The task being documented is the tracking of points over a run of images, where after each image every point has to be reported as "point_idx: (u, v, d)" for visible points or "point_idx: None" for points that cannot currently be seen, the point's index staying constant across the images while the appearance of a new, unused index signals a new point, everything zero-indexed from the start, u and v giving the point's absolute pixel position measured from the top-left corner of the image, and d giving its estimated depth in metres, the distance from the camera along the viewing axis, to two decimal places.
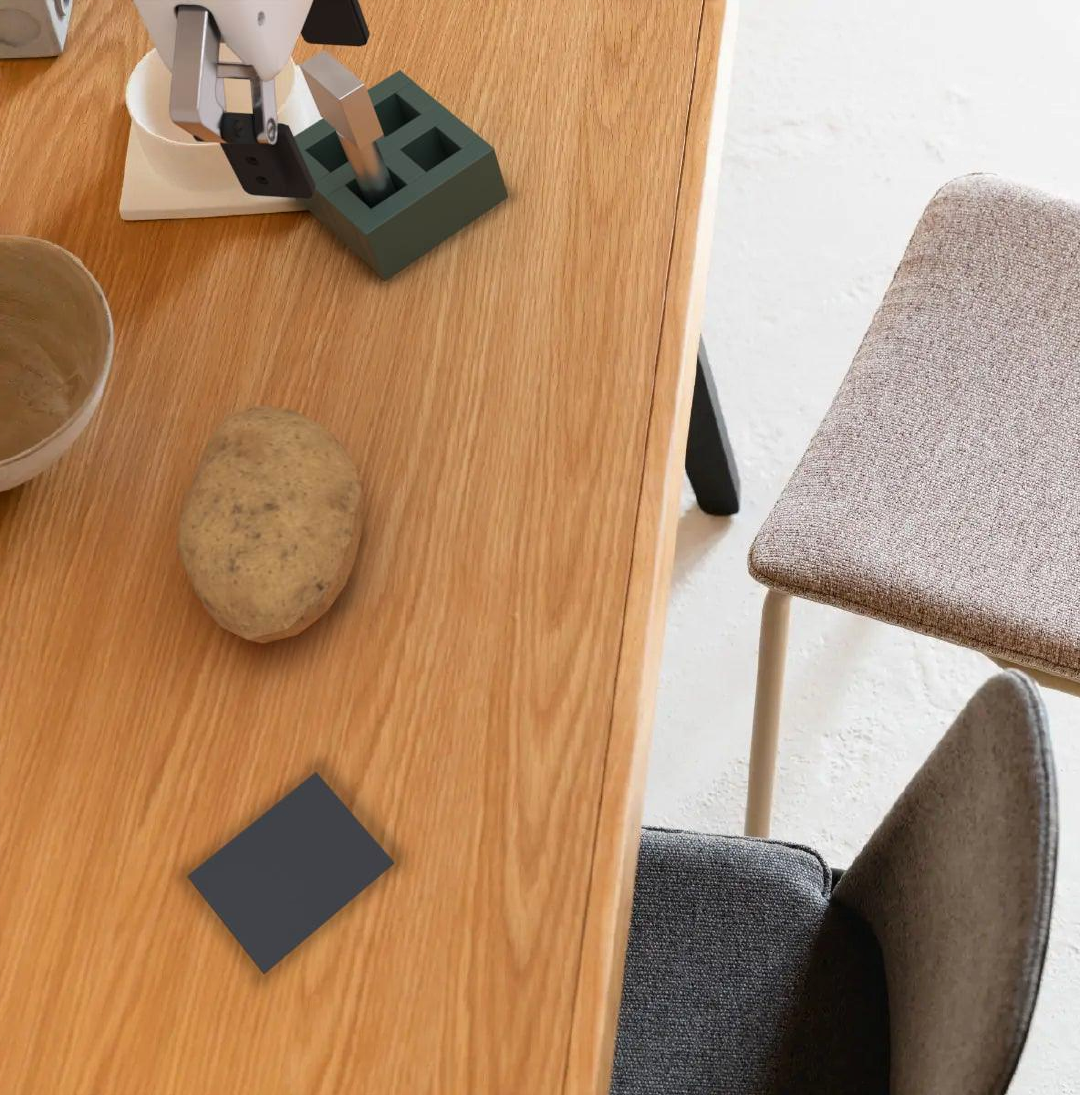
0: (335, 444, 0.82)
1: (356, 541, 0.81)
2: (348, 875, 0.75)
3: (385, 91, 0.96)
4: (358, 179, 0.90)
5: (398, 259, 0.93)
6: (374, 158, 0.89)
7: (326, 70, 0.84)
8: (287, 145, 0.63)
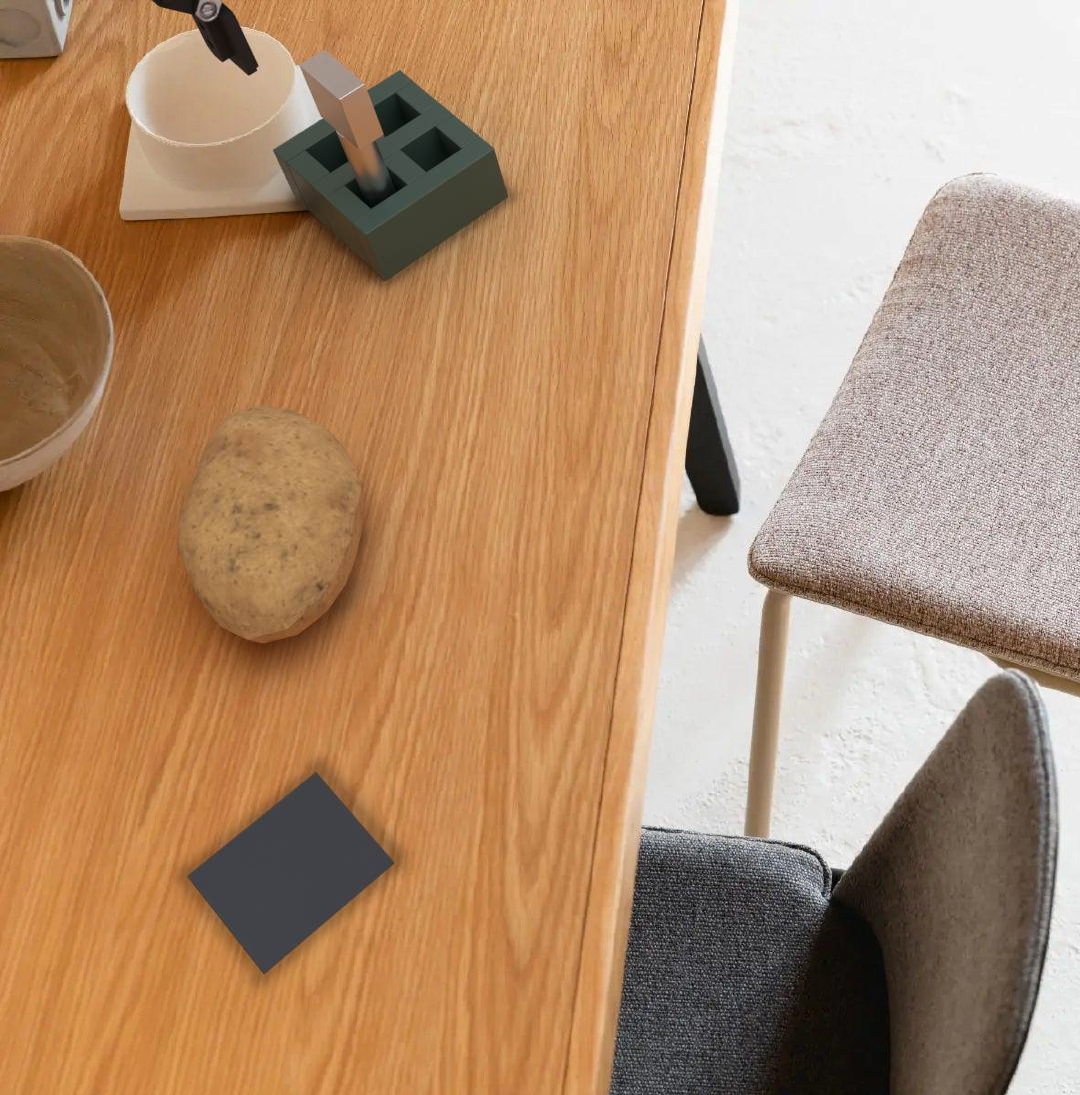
0: (335, 444, 0.82)
1: (356, 541, 0.81)
2: (348, 875, 0.75)
3: (385, 91, 0.96)
4: (358, 179, 0.90)
5: (398, 259, 0.93)
6: (374, 158, 0.89)
7: (326, 70, 0.84)
8: (226, 27, 0.75)
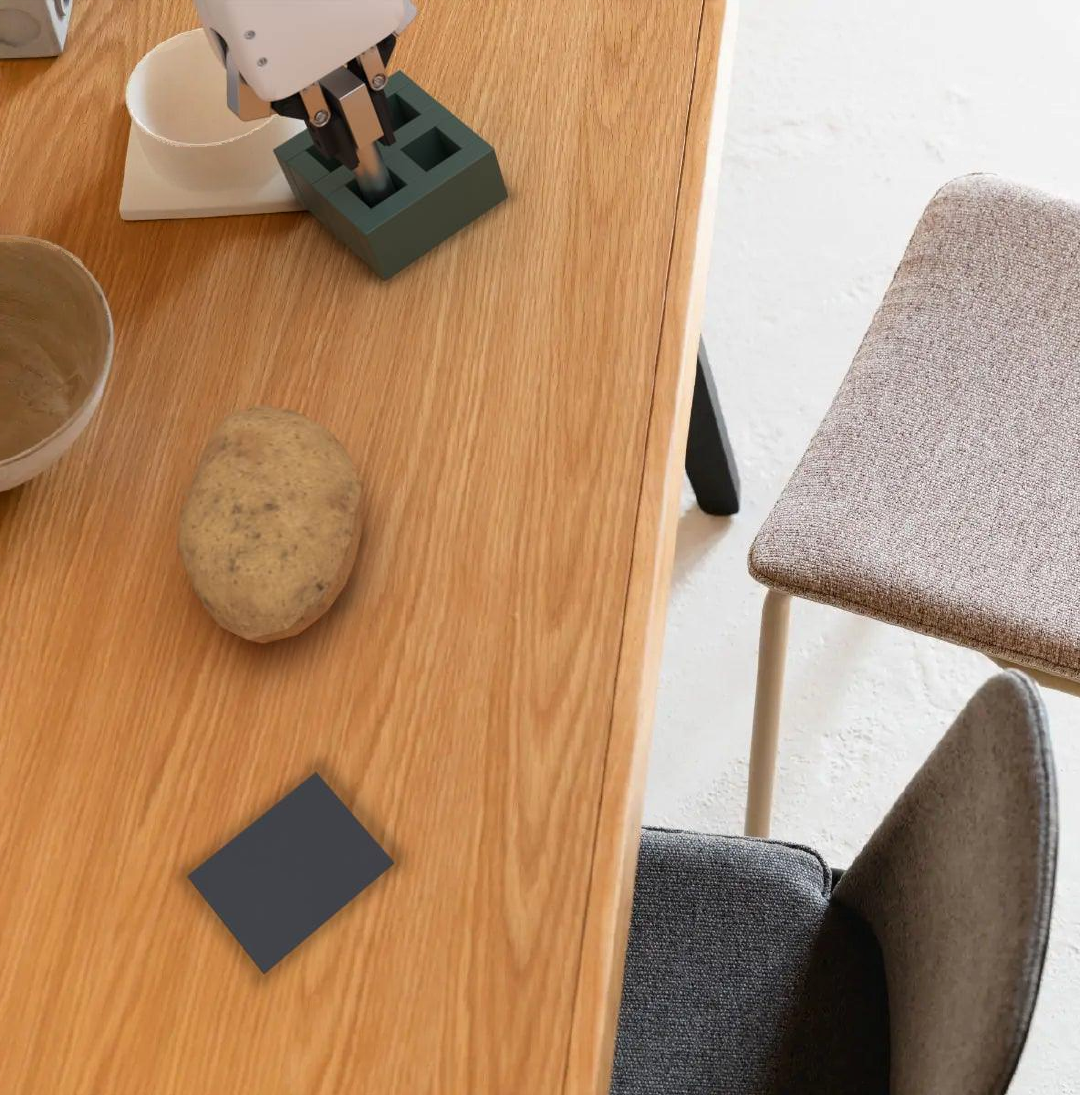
0: (335, 444, 0.82)
1: (356, 541, 0.81)
2: (348, 875, 0.75)
3: (385, 91, 0.96)
4: (358, 179, 0.90)
5: (398, 259, 0.93)
6: (374, 157, 0.89)
7: None
8: (335, 131, 0.85)
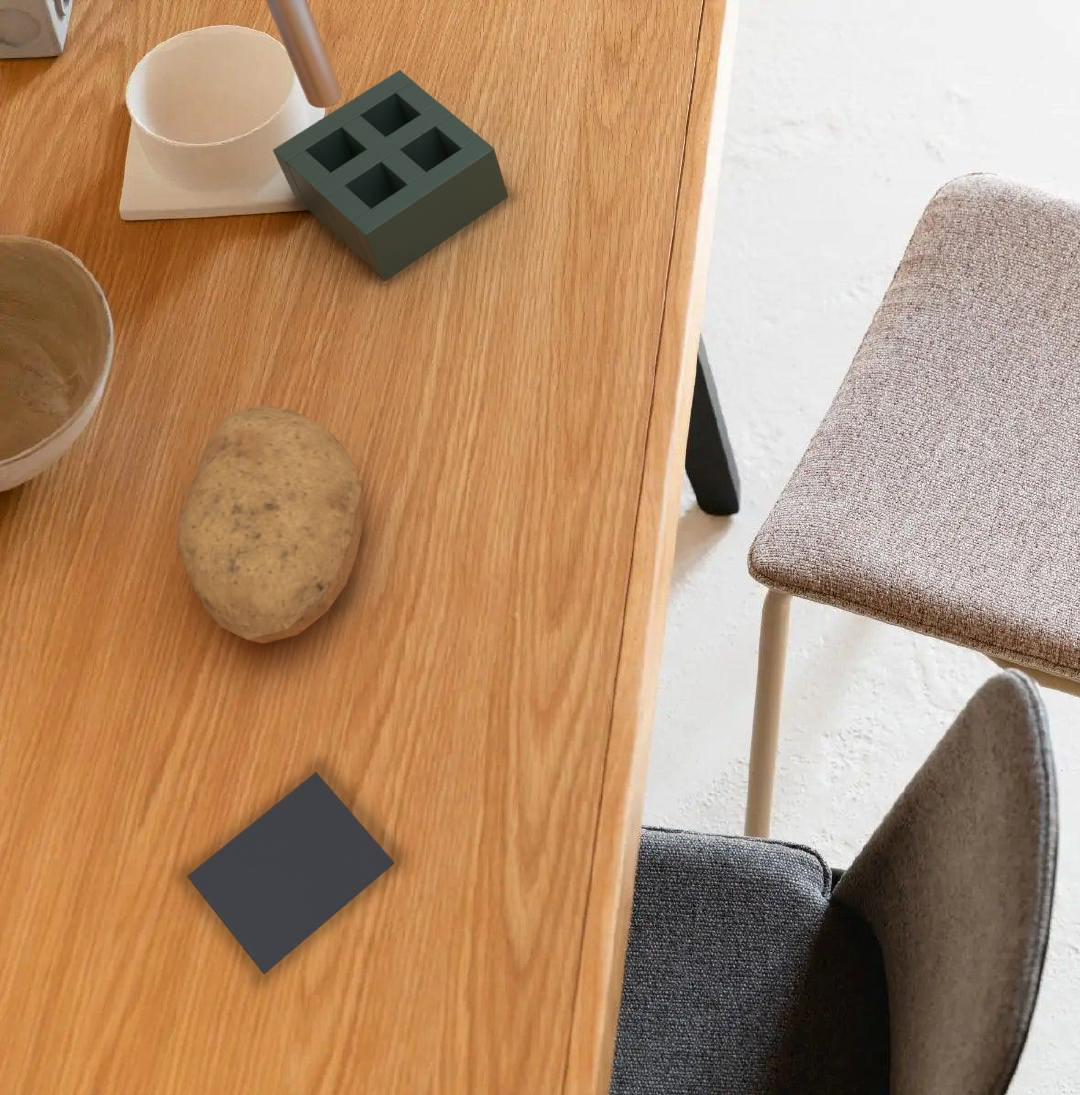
0: (335, 444, 0.82)
1: (356, 541, 0.81)
2: (348, 875, 0.75)
3: (385, 91, 0.96)
4: (274, 16, 0.77)
5: (398, 259, 0.93)
6: None
7: None
8: None
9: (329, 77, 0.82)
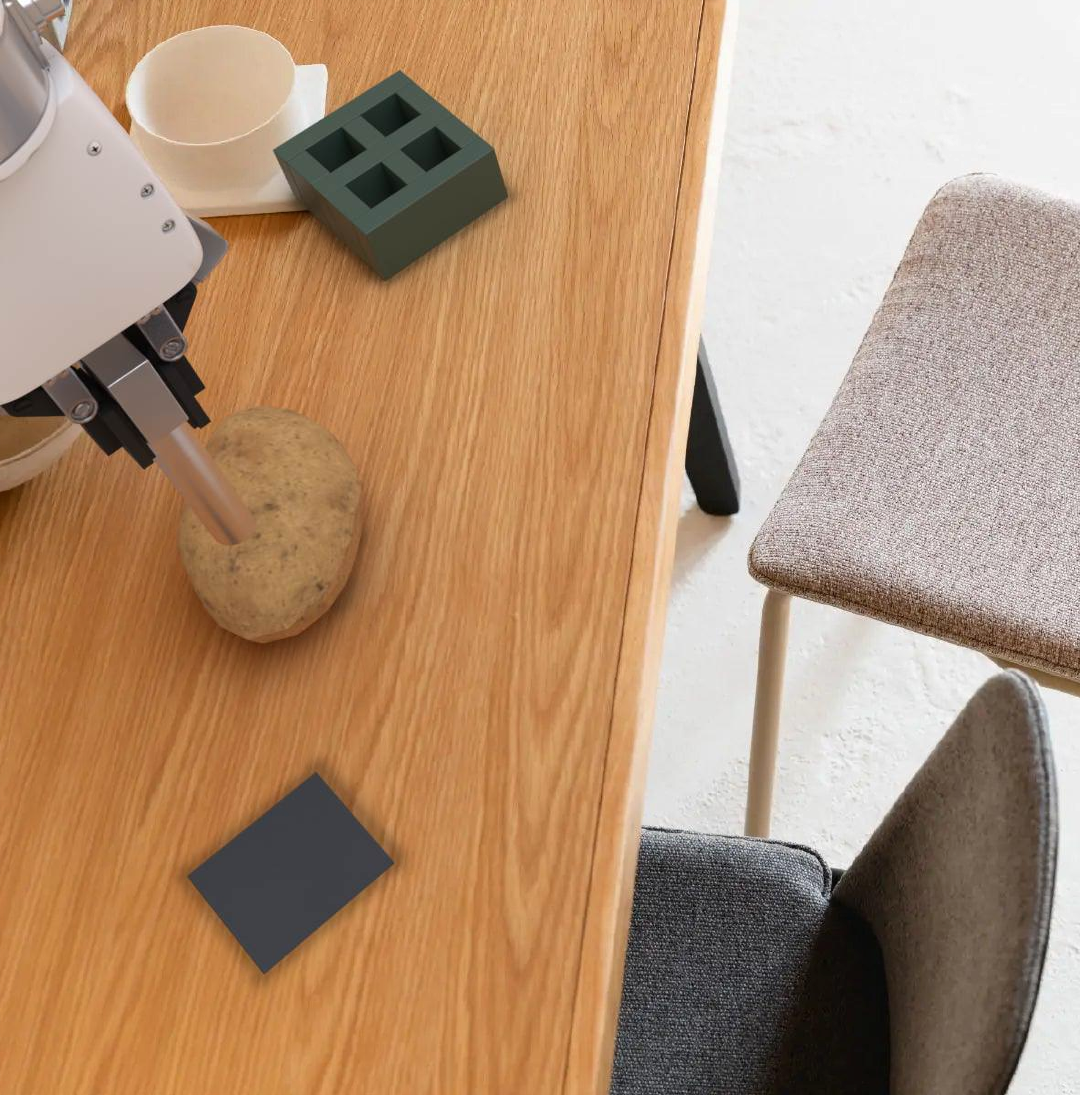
0: (335, 444, 0.82)
1: (356, 541, 0.81)
2: (348, 875, 0.75)
3: (385, 91, 0.96)
4: (162, 470, 0.62)
5: (398, 259, 0.93)
6: (181, 444, 0.61)
7: None
8: (109, 425, 0.57)
9: (237, 516, 0.67)
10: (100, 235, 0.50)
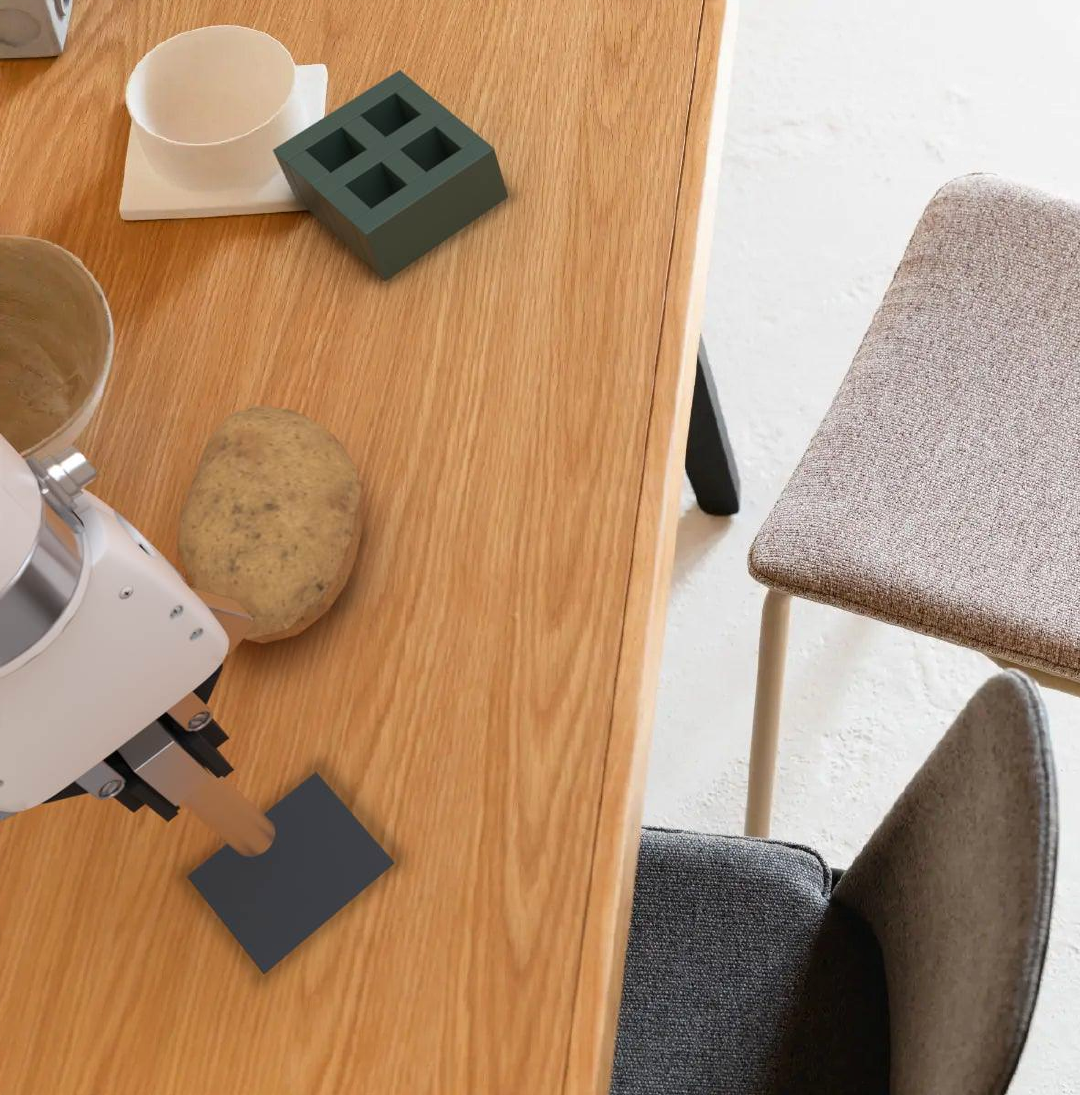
0: (335, 444, 0.82)
1: (356, 541, 0.81)
2: (348, 875, 0.75)
3: (385, 91, 0.96)
4: (186, 808, 0.64)
5: (398, 259, 0.93)
6: (205, 790, 0.63)
7: None
8: (135, 794, 0.59)
9: (258, 833, 0.68)
10: (130, 659, 0.52)
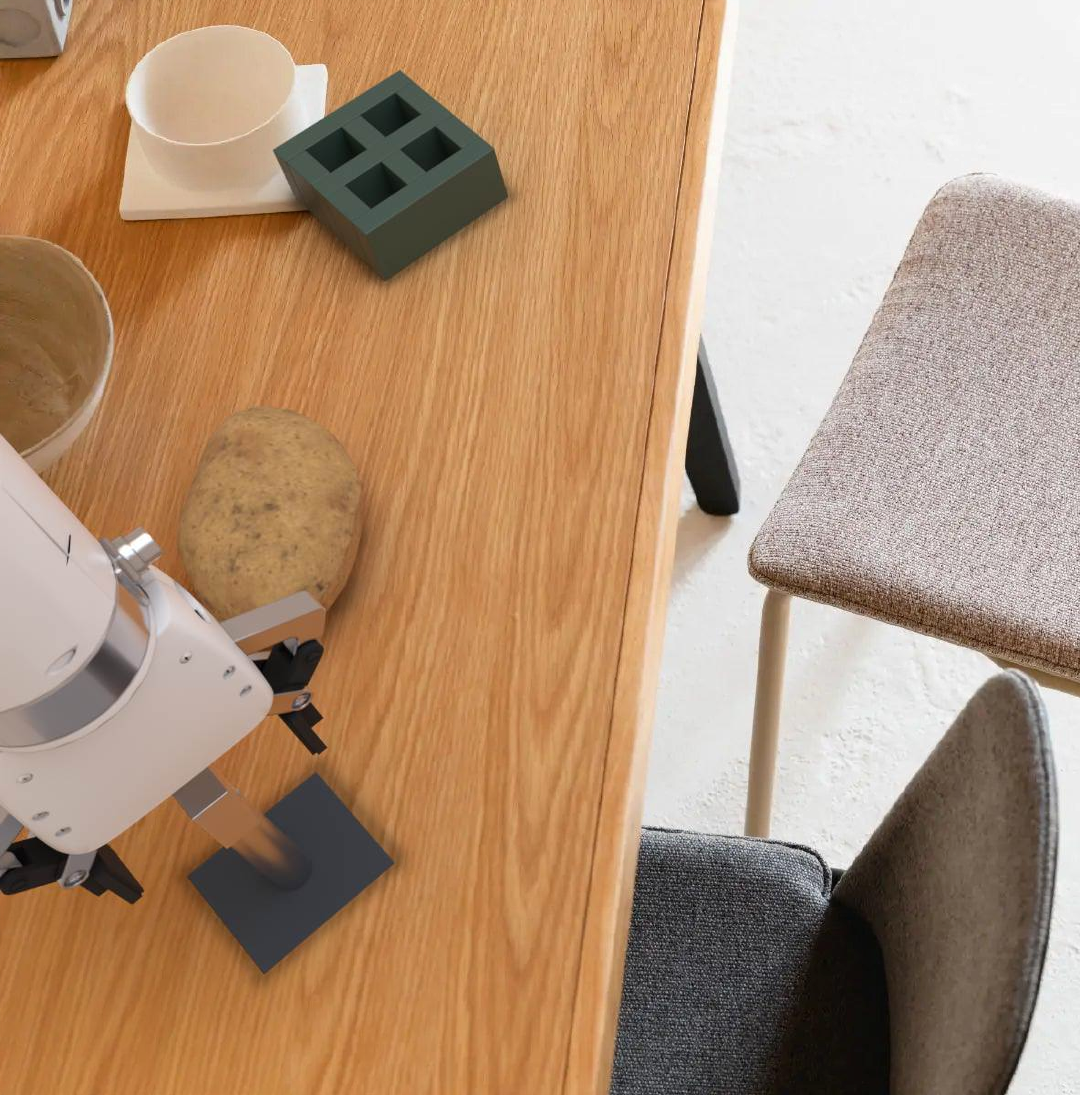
0: (335, 444, 0.82)
1: (356, 541, 0.81)
2: (348, 875, 0.75)
3: (385, 91, 0.96)
4: (233, 848, 0.69)
5: (398, 259, 0.93)
6: (252, 832, 0.68)
7: None
8: (99, 882, 0.61)
9: (297, 869, 0.73)
10: (187, 716, 0.56)
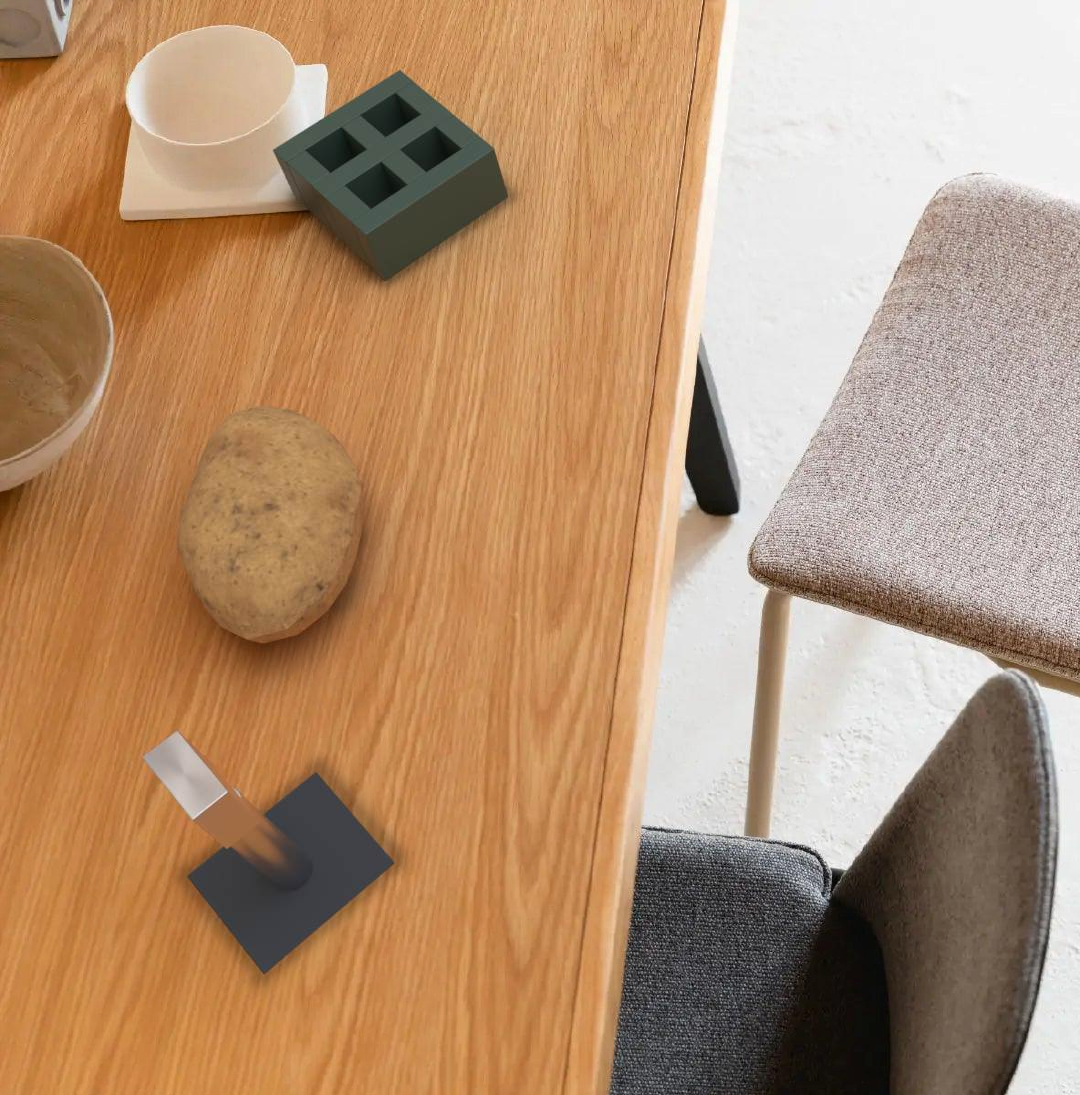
0: (335, 444, 0.82)
1: (356, 541, 0.81)
2: (348, 875, 0.75)
3: (385, 91, 0.96)
4: (233, 848, 0.69)
5: (398, 259, 0.93)
6: (252, 832, 0.68)
7: (177, 767, 0.63)
8: None
9: (297, 869, 0.73)
10: None
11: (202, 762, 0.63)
